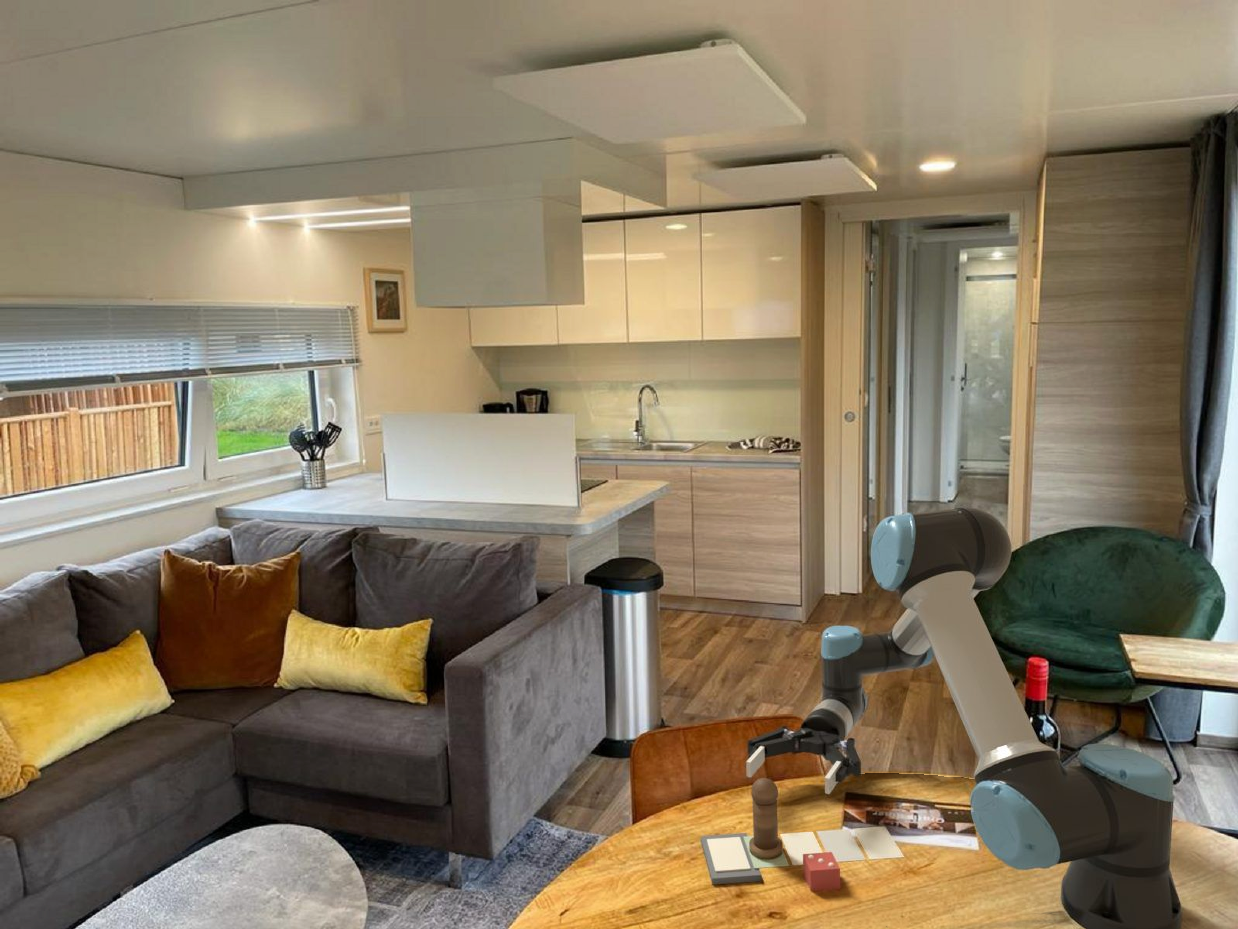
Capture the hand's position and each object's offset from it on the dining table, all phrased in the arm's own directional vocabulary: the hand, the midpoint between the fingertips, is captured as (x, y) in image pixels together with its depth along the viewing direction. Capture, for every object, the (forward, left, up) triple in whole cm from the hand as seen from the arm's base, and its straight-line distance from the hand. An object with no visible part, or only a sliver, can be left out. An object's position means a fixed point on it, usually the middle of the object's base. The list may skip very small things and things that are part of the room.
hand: (786, 777), depth 159 cm
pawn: (-8, +5, -8) cm, 12 cm away
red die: (-17, -1, -9) cm, 19 cm away
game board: (-8, -1, -9) cm, 12 cm away
